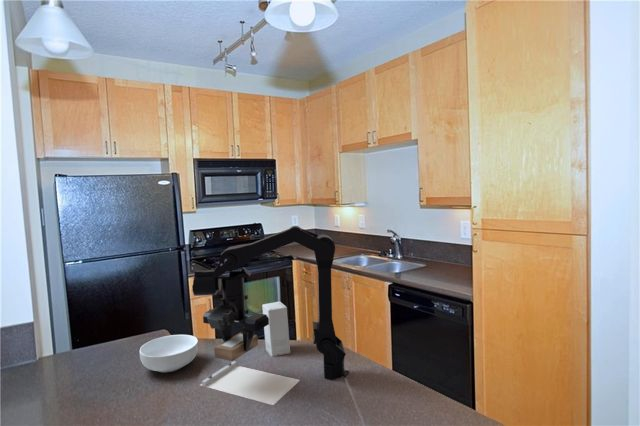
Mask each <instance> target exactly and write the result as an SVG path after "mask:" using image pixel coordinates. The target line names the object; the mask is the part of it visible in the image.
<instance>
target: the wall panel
mask: <svg viewBox="0 0 640 426" xmlns="http://www.w3.org/2000/svg"><path fill="white" fill-rule="evenodd" d="M207 375H208V374H207ZM300 381H301V380H300V379H297V378H293V377H288V376H284V375H279V374H276V373H271V372H266V371H262V370H258V369H253V368H249V367H244V366H240V365H238V363H237V360H236V361H235V360H234V361H230V362H228V363H227V365H225V366H223V367H222V368H221V369H219V370H217V371H215V372H214V373H212V374H209V375H208V376H207V377H206V378H205V379H203V380H202V381H201V384H200V386H202V387H204V388H205V387H206V388H208V389H213V390H217V391H220V392H223V393H227V394H231V395H234V396H238V397H242V398H246V399H249V400H252V401H255V402H256V401H257V402H260V403H264V404H267V405H272V406H274V405H276V403H277V402H279V400H281V399H282V398H283V397H284V396H285V395H286V394H287V393H288V392H289V391H290V390H291V389H293V387H294V386H296V385H297V384H298V383H299V382H300Z"/></svg>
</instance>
